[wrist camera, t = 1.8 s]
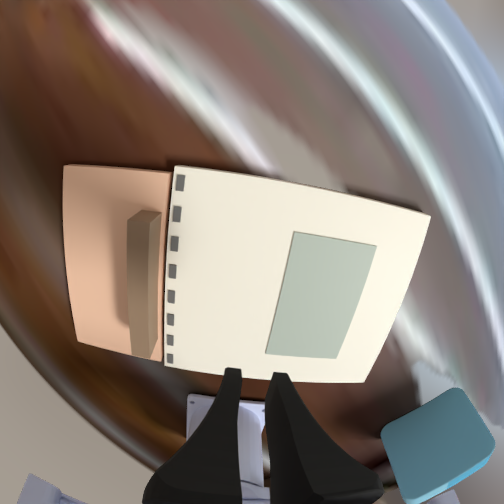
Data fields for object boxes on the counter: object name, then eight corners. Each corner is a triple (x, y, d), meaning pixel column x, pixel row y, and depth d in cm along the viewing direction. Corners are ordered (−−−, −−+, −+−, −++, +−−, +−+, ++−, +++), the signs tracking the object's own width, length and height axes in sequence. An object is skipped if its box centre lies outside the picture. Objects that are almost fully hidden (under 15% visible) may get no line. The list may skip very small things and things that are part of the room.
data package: (382, 440, 30) (406, 509, 19) (377, 427, 29) (404, 504, 18) (457, 399, 28) (493, 459, 17) (458, 382, 27) (500, 447, 16)
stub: (163, 353, 23) (153, 382, 20) (82, 334, 23) (65, 358, 19) (172, 172, 18) (156, 178, 15) (71, 164, 17) (43, 170, 14)
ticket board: (360, 375, 25) (364, 383, 24) (167, 358, 23) (164, 366, 22) (423, 212, 19) (431, 216, 18) (178, 164, 18) (174, 166, 17)
